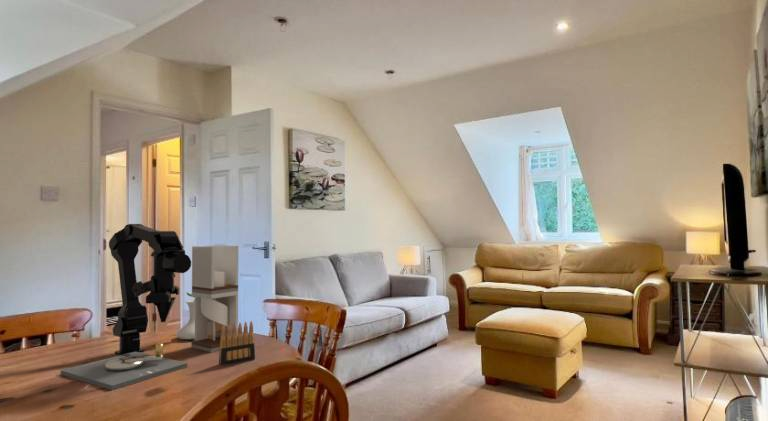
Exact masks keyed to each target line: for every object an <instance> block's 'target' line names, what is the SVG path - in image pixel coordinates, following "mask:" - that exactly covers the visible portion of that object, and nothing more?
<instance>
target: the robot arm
mask: <svg viewBox="0 0 768 421" xmlns="http://www.w3.org/2000/svg"><path fill="white" fill-rule="evenodd" d="M143 241H144V242H146V243H147V244H148V247H149V248H151V249H152V250H153V252H151V254H150V257H153V275H151V277H150V280H148V281H145V282H143V281H137V272H136V264H135V259H136V257H137V255H138V253H139V247H140V245H141V244H142V243H143ZM108 247H109V249H110V254H111V257H112V258H113V259H114V260H115V261H116V262H117V266H118V274H119V276H118V277H119V284H120V293H121V294H120V295H121V303H122V305H121V308H120V309H119V311H118V313H117V320H116V321H115V324H114V326H113V328H112V334H113V336H114V337H119V345H118V346H119V350H115V351H114V353H115V354H118V355H124V354H128V353H132V352H140V353H143V352H144V351H145V349H144V348H141V333H146V332H147V327H148V322H149V317H148V313H147V307H146V305H143V304H142V303H141V302H140V299H139V297H141V295H143V294H145V293H146V294H147V293H148V292H149V293H148V294H147V295H145V304H153V305H154V306H156V308H157V313H158V316H159V319H160V323H165V322H166V321H167V319H168V316H169V314H170V311H171V310H172V307H173V305H174V303H175V300H176V299H177V298H176V297H175V296H179V295H180V287H179V286H178V285H175V278H176V273H177V274H185V273H187V272H188V271H189V270H190V269H191V268H192V259H191V258H190V256H189V255H187V254H186V250H185V249H184V245H183V244H182V242H181V240H180V237H179V236H178V234H177V232H176V231H174V230H158V229H156V228H155V229H154V228H152V227H148V226H146V225H143V224H142V223H128V224H126V225H125V226H124V227H123V228H122V229H120V230H118V231H117V232H115V233H114V234H112V237H111V238H110V239H109V241H108ZM172 295H175V296H174V297H172Z"/></svg>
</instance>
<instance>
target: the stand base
mask: <svg viewBox="0 0 768 421" xmlns="http://www.w3.org/2000/svg"><path fill="white" fill-rule="evenodd" d="M128 354H131V355H132V356H138V357H143V356H155V355H153V354H148V353H144V352H132V353H128ZM124 355H125V354H124ZM119 356H121V354H119V355H116V356H113V357H108V358H104V359H100V360H96V361H93V362H92V361H91V362H88V363H83V364H81V365H80V364H79V365H77V366H72V367H68V368H64V369H60V375H61V376H64V377H67V378H70V379H74V380H78V381H81V382H84V383H87V384H90V385H92V386H93V385H94V386H97V387H100V388H104V389H107V390H110V391H115V390H118V389H121V388H124V387H127V386H131V385H133V384H137V383H141V382H143V381H147V380H150V379H154V378H156V377H161V376H163V375H166V374H169V373H173V372H176V371H179V370H182V369H185V368H188V362H184V361H181V360H176V359H171V358H167V357H163V359H159V360H145V364H144V365H142V366H140V367H137V368H134V369H129V370H122V371H109V370H106V369H105V364H106V363H107V362H108V361H111V360H113V359H117V358H119ZM153 377H154V378H153Z"/></svg>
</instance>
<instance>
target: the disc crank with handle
mask: <svg viewBox="0 0 768 421" xmlns="http://www.w3.org/2000/svg"><path fill="white" fill-rule="evenodd" d="M120 355H121V354H120ZM120 355H118V356H119V358H117V359H113V360H111V361H108V362H107V363H106V364H105V369H106V370H109V371H122V370H129V369H134V368H137V367H140V366H142V365H144V364H145V360H159V359H163V358H164V343H162V342H159V343H155V355H154V356H143V357H138V356H132V355H131V354H125V355H121V356H120Z"/></svg>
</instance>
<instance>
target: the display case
mask: <svg viewBox="0 0 768 421" xmlns="http://www.w3.org/2000/svg"><path fill="white" fill-rule="evenodd" d="M191 294H192V296H195V297H194V300H195V339H194V340H192V341H191V348H192V349H197V350H200V351H205V352H208V353H214V352H218V351H219V352H220V338H221V328H222V325H224V327H225V337H226V336H227V327H228V324H229V325H230V328H231V338H232V330H233V325H234V323H235V325H236V332H237V336H238V326H239V245H225V244H224V245H221V244H219V245H197V246H196V245H194V246H193V245H192V247H191Z"/></svg>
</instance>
